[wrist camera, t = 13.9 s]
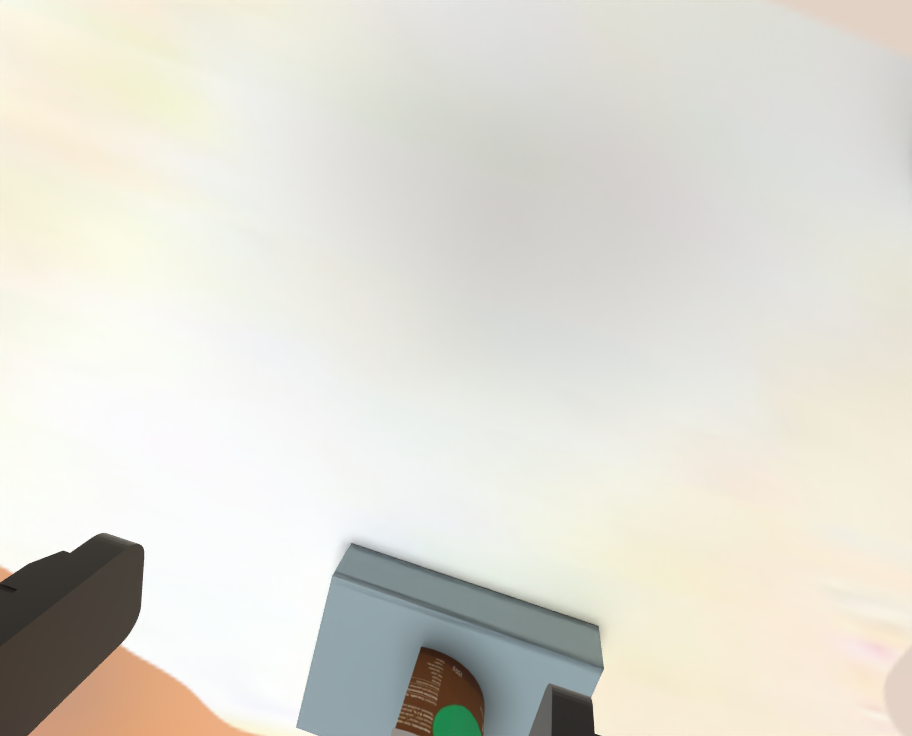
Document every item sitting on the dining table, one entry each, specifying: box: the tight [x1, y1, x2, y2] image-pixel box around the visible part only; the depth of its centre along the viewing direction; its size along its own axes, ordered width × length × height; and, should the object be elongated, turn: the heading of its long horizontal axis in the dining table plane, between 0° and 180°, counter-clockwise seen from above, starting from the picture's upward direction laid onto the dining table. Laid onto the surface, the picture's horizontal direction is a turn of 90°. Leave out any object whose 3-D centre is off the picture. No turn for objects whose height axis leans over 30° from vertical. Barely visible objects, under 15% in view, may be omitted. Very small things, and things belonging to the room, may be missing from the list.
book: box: [296, 543, 604, 736], centre depth 43 cm, size 20×15×4 cm
